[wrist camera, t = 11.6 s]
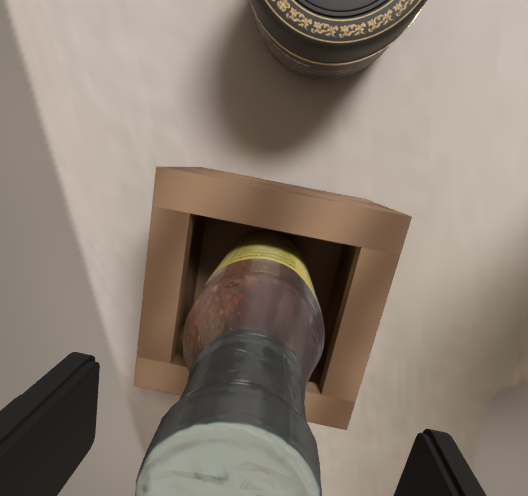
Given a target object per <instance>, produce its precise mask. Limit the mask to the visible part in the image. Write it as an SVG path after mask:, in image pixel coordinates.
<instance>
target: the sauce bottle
mask: <svg viewBox="0 0 528 496" xmlns="http://www.w3.org/2000/svg"><path fill="white" fill-rule="evenodd" d="M324 339H325V329H324V322H323V316H322V313H321V309H320V306H319V303H318V300H317V297H316V294H315V290H314V287H313V284H312V282H311V278H310V275H309V272H308V269H307V266H306V263H305V260H304V257H303V255H302V253H301V251H300V250H299V248H298V247H297V246H296V245H295V244H294V243H293V242H292V241H291V240H289V239H288V238H287V237H286V236H284V235H281V234H278V233H275V232H271V231H262V232H259V231H258V232H252V233H250V234H249V235H247V236H245V237H243V238H241V239H240V240H239V241H238V242H236V243H235V244H234V245H233V247H232V248H231V249H230V250H229V252H228V253H227V255H226V256H225V257H224V259H223V260H222V261H221V263H220V264H219V266H218V267H217V268H216V270H215V271H214V272H213V274H212V275H211V277H210V278H209V279H208V281H207V282H206V283H205V285H204V287H203V290H202V291H201V293H200V294H199V296H198V298H197V299H196V301H195V303H194V304H193V305H192V307H191V310H190V312H189V314H188V316H187V319H186V321H185V327H184V334H183V341H182V342H183V355H184V358H185V360H186V367H187V369H188V371H189V376H188V382H187V385H186V387H185V389H184V391H183V393H182V396H181V398H180V400H179V401H178V402H177V403H176V404H174V405H173V406H172V407H171V408H170V410H169V411H168V412H167V413H166V414H165V416H164V417H163V418H162V420H161V422H160V425H159V427H158V429H157V431H156V433H155V435H154V437H153V439H152V442H151V444H150V446H149V448H148V450H147V452H146V455H145V457H144V459H143V462H142V465H141V468H140V471H139V474H138V476H137V480H136V494H135V496H322V488H321V480H320V463H319V457H318V450H317V444H316V440H315V438H314V436H313V434H312V432H311V430H310V427H309V426H308V424H307V422H306V413H305V404H304V401H305V388H306V385H307V383H308V381H309V378H310V376H311V374H312V372H313V370H314V369H315V367H316V365H317V363H318V361H319V359H320V357H321V354H322V351H323V347H324Z"/></svg>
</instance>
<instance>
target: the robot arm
mask: <svg viewBox="0 0 528 496" xmlns="http://www.w3.org/2000/svg"><path fill="white" fill-rule="evenodd" d="M99 368H100V366H99V363H98V362H95V357H94V356H92V355H87V354H82V353H78V352H72V353H71V354H69V355H68V356H67V357H66V358H64V359H63V360H62V361H61V362H60V363H59V364H57V365H56V366H55V367H54V368H53V369H51V370H50V371H49V372H48V373H47V374H46V375H44V376H43V377H42V378H41V379H40V380H38V381H37V382H36V383H35V384H34V385H33V386H31V387H30V388H29V389H28V390H27V391H26V392H24V393H23V394H22V395H20V396H18V397H17V398H15V399H14V400H13V401H11V402H10V403H9V404H8V405H7V406H6V407H5V408H3V409H2V410H1V411H0V496H57V495H58V493H59V492H60V491H61V489H62V488H63V486H64V485H65V484H66V482H67V481H68V479H69V478H70V477H71V475H72V474H73V472H74V471H75V470H76V468H77V467H78V465H79V464H80V462H81V461H82V460H83V458H84V457H85V456H86V454H87V453H88V451H89V450H90V448H91V446H92V444H93V442H94V438H95V430H96V429H95V428H96V414H97V399H98V384H99ZM394 496H486V494H485V492H484V491H483V489H482V488H481V486H480V484H479V483H478V481H477V479H476V477H475V476H474V474H473V472H472V471H471V469H470V467H469V465H468V464H467V462H466V460H465V459H464V457H463V455H462V454H461V452H460V450H459V449H458V447H457V445H456V443H455V442H454V440H453V438H452V437H451V436H450V435H449V434H448V433H444V432H440V431H435V430H431V429H425V430H424V431H423V433H419V434H417V436H416V439H415V441H414V444H413V447H412V449H411V452H410V454H409V457H408V460H407V462H406V465H405V468H404V470H403V473H402V475H401V478H400V481H399V483H398V486H397V489H396V491H395V494H394Z"/></svg>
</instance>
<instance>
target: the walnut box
mask: <svg viewBox="0 0 528 496" xmlns="http://www.w3.org/2000/svg"><path fill="white" fill-rule="evenodd" d="M411 218H412V217H411V216H408V215H406V214H403V213H400V212H398V211H395V210H393V209H390V208H387V207H385V206H382V205H380V204H377V203H374V202H372V201H369V200H366V199H361V198H356V197H350V196H345V195H340V194H335V193H330V192H325V191H320V190H315V189H310V188H304V187H299V186H294V185H289V184H284V183H279V182H274V181H269V180H264V179H259V178H253V177H248V176H243V175H238V174H233V173H228V172H223V171H218V170H213V169H207V168H202V167H156V174H155V184H154V194H153V203H152V213H151V223H150V233H149V242H148V252H147V262H146V272H145V281H144V291H143V301H142V311H141V320H140V330H139V340H138V350H137V360H136V369H135V379H134V386H138V387H143V388H148V389H152V390H157V391H162V392H167V393H172V394H176V395H181V396H182V393H183V391H184V389H185V387H186V385H187V382H188V376H189V371H188V369H187V367H186V360H185V358H184V355H183V342H182V341H183V334H184V327H185V321H186V319H187V316H188V314H189V312H190V310H191V307H192V305H193V304H194V303H195V301H196V299H197V298H198V296H199V294H200V293H201V291H202V290H203V287H204V285H205V283H206V282H207V281H208V279H209V278H210V277H211V275H212V274H213V272H214V271H215V270H216V268H217V267H218V266H219V264H220V263H221V261H222V260H223V259H224V257H225V256H226V255H227V253H228V252H229V250H230V249H231V248H232V247H233V245H234V244H235V243H236V242H238V241H239V240H240V239H241V238H243V237H245V236H247V235H249V234H250V233H252V232H258V231H259V232H262V231H271V232H275V233H278V234H281V235H284V236H286V237H287V238H288V239H289V240H291V241H292V242H293V243H294V244H295V245H296V246H297V247H298V248H299V250H300V251H301V253H302V255H303V257H304V260H305V263H306V266H307V269H308V272H309V275H310V278H311V282H312V284H313V287H314V290H315V294H316V297H317V300H318V303H319V306H320V309H321V313H322V316H323V322H324V329H325V339H324V347H323V351H322V354H321V357H320V359H319V361H318V363H317V365H316V367H315V369H314V370H313V372H312V374H311V376H310V378H309V381H308V383H307V385H306V388H305V401H304V404H305V413H306V422H311V423H315V424H320V425H325V426H330V427H335V428H339V429H344V430H347V427H348V424H349V421H350V418H351V414H352V411H353V408H354V404H355V401H356V398H357V395H358V391H359V388H360V385H361V382H362V378H363V375H364V372H365V368H366V365H367V362H368V359H369V355H370V352H371V349H372V346H373V342H374V339H375V336H376V332H377V329H378V326H379V323H380V319H381V316H382V313H383V309H384V306H385V303H386V300H387V296H388V293H389V290H390V287H391V283H392V280H393V277H394V273H395V270H396V267H397V264H398V260H399V257H400V254H401V251H402V247H403V244H404V241H405V237H406V234H407V231H408V228H409V224H410V221H411Z"/></svg>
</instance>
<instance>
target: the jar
mask: <svg viewBox="0 0 528 496" xmlns="http://www.w3.org/2000/svg"><path fill="white" fill-rule="evenodd" d="M426 1H427V0H250V2H251V5H252V9H253V14H254V18H255V22H256V25H257V28H258V31H259V33H260V35H261V37H262V39H263V41H264V43H265V45H266V46H267V48H268V49H269V51H270V52H271V53H272V55H273V56H274V57H275V58H276V59H277V60H278V61H279V62H280V63H281V64H282V65H284V66H285V67H286V68H288V69H289V70H291V71H293V72H294V73H296V74H299V75H301V76H304V77H307V78H311V79H318V80H331V79H338V78H343V77H346V76H349V75H352V74H354V73H356V72H358V71H360V70H362V69H364V68H365V67H367V66H368V65H370V64H371V63H372V62H374V61H375V60H376V59H377V58H378V57H379V56H380V55H381V54H382V53H383V52H384V51H385V50H386V49H387V48H388V47H389V46H390V44H392V43H393V42H394V41H395V40H396V39H397V38H398V37H399V36H401V35H402V34H403V33H404V32H405V30H406V29H407V28H408V27H409V26H410V24H411V23H412V22H413V21H414V20H415V18H416V17H417V15H418V14H419V12H420V11H421V9H422V8H423V6H424V4H425V3H426Z"/></svg>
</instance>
